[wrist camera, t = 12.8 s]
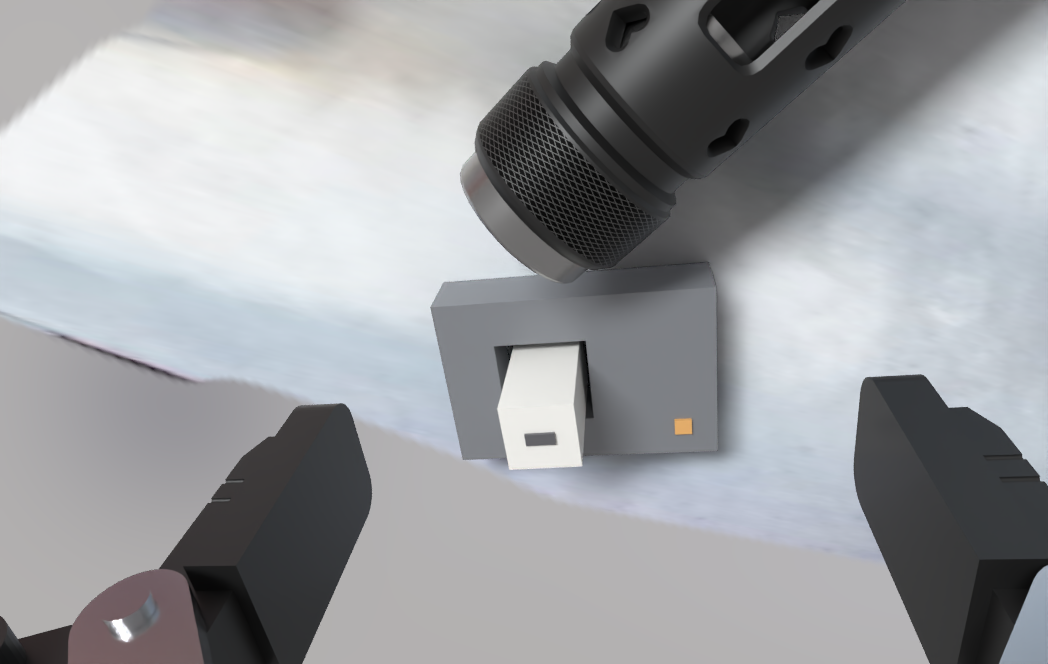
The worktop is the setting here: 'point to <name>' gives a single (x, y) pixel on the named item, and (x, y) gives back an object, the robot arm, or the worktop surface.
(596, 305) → the outlet block
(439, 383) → the worktop surface
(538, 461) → the block
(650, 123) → the muzzle brake
